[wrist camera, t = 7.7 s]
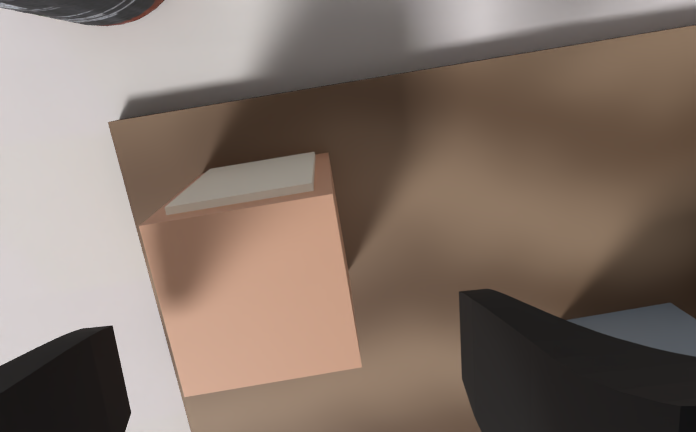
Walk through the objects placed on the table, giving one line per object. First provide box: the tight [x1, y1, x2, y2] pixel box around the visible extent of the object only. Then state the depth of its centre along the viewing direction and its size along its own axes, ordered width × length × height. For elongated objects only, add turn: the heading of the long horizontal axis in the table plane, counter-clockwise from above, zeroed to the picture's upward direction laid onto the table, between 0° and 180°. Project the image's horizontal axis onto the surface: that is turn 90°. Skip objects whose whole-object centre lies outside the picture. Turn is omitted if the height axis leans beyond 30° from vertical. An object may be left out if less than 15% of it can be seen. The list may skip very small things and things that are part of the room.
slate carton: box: [567, 303, 696, 357], centre depth 19 cm, size 5×4×7 cm
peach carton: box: [139, 152, 362, 397], centre depth 17 cm, size 5×4×7 cm
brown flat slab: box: [108, 25, 696, 432], centre depth 21 cm, size 18×23×3 cm
